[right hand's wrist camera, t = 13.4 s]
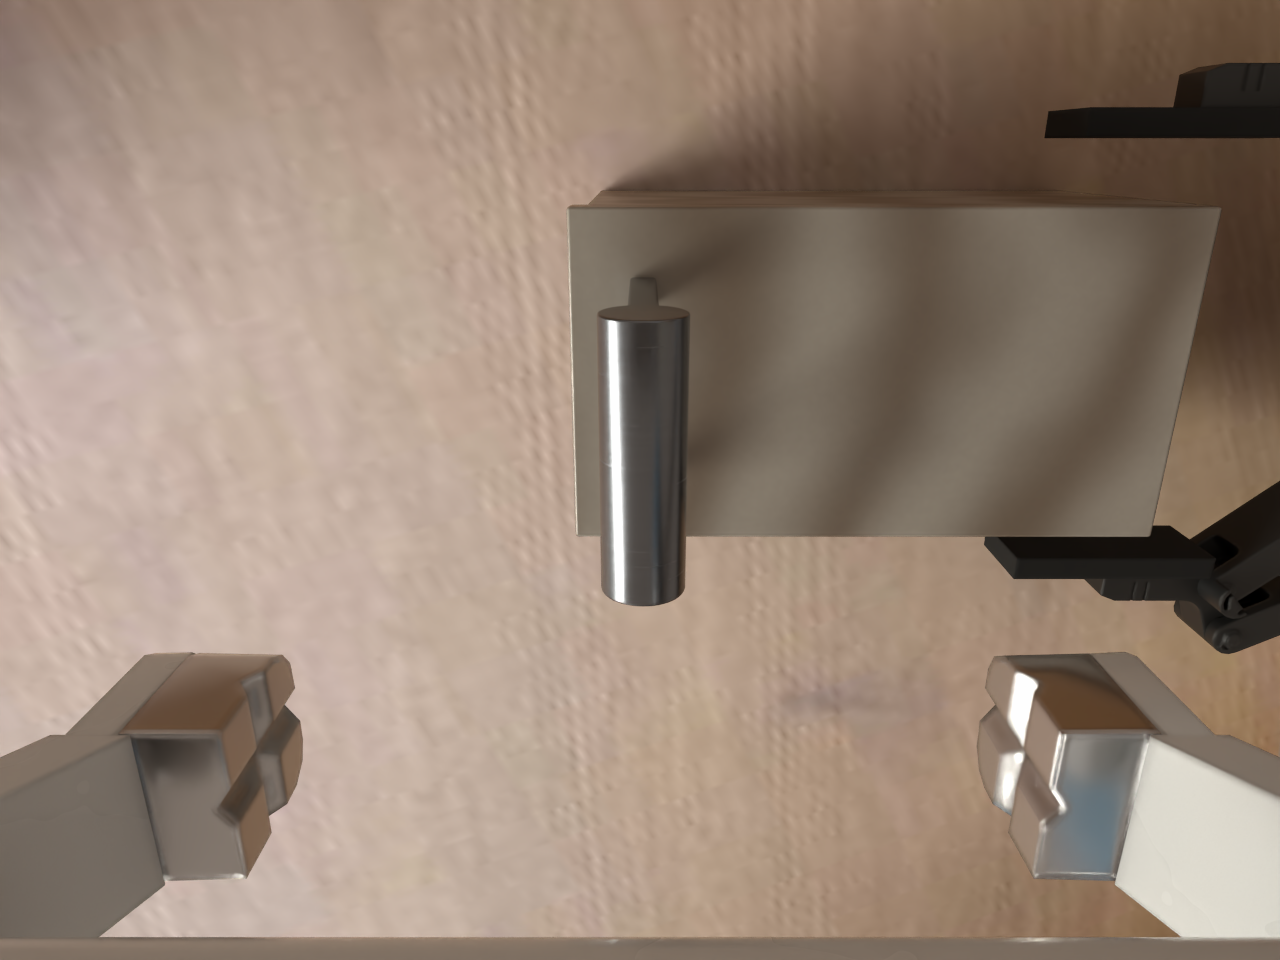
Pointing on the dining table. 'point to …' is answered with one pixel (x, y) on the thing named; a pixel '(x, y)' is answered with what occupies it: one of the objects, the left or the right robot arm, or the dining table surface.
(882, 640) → the dining table surface
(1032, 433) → the lid
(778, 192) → the chest
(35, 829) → the right robot arm
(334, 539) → the dining table surface
